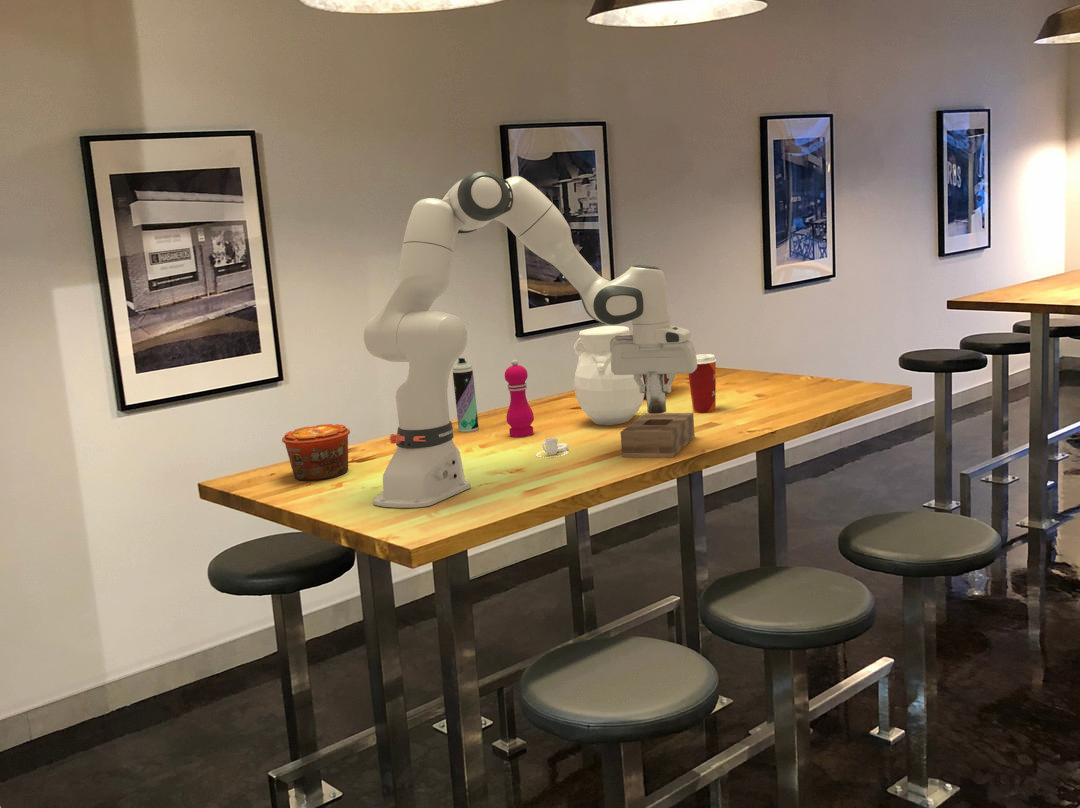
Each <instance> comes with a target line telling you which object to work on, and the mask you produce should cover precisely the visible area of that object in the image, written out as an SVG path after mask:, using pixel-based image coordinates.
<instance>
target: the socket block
mask: <svg viewBox="0 0 1080 808" xmlns="http://www.w3.org/2000/svg"><path fill="white" fill-rule="evenodd" d="M694 422H695V420H694V412H664V413H657V414H651V413H648V412H646V413H644V414H642V415H641V416H640V417H639V418H637V419H636V420H634V421H633V422H632V423H631V424H629V425H628V426H626V427H625V428H624V429H622V430H621V431H620V441H621V442H620V445H621V455H622V458H650V459H651V458H653V459H654V458H655V459H656V458H658V459H659V458H661V459H662V458H667V459H668V458H669V459H671V458H672V459H673V458H674V457H675V456H676V455H677V454H679V453H680V452H681V451H682V450H683V448H685V447H686V446H687V445H688V444H689V443H690V442H691V441H692V440H693V439H694V438H695V423H694Z"/></svg>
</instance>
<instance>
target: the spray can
mask: <svg viewBox="0 0 1080 808" xmlns="http://www.w3.org/2000/svg"><path fill="white" fill-rule="evenodd" d="M457 360H458V361H457V363H456V364H455V366H454V365H453V366H452V378H453V380H452V381H453V388H454V390H453V391H454V397H455V406H456V407H455V408H456V416H457V425H458V432H460V433H472V432H476V430H477V431H479V418H478V409H477V407H478V406H477V399H476V388H475V378H474V369H473V365H470V364H469V363H468V361H466V360H465V357H459V358H458V359H457Z"/></svg>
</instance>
